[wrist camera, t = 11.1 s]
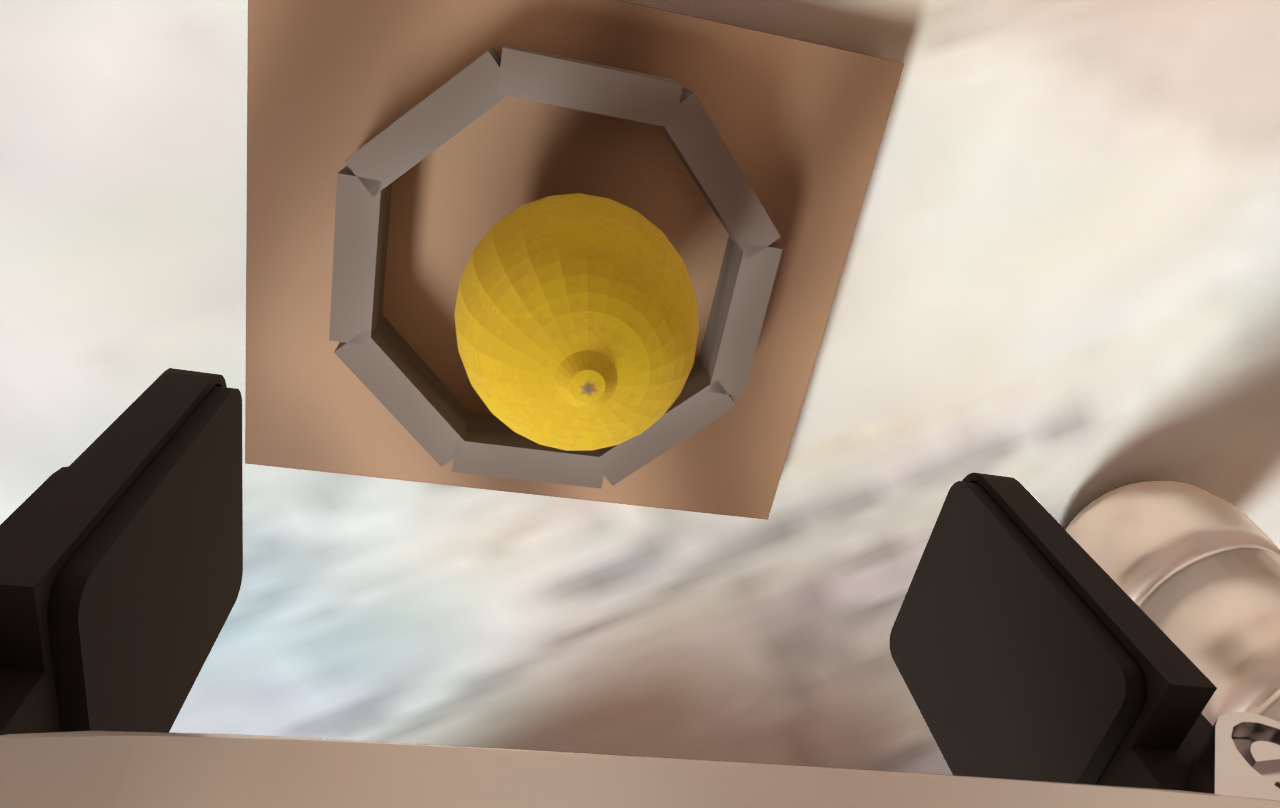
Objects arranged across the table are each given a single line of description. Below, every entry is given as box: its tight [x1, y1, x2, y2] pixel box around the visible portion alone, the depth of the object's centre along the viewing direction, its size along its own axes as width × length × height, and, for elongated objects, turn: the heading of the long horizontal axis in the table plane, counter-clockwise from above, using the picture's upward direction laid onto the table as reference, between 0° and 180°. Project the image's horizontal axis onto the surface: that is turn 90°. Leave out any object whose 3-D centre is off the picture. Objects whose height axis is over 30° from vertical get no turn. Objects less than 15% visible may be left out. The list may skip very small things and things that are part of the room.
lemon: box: [454, 193, 699, 451], centre depth 19 cm, size 6×6×8 cm
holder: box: [245, 0, 904, 520], centre depth 23 cm, size 16×14×3 cm
